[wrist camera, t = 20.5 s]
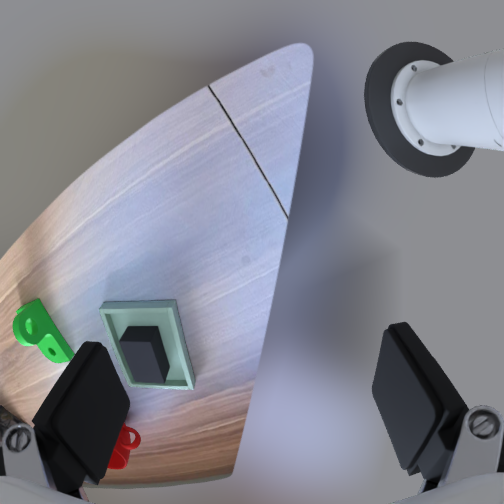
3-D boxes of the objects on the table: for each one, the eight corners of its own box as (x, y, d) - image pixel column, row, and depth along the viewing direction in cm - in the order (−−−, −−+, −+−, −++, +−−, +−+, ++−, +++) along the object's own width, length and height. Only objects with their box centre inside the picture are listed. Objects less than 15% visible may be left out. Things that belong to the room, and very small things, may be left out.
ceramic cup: (165, 432, 51) (156, 470, 42) (107, 436, 53) (95, 468, 44) (128, 391, 47) (112, 431, 38) (72, 399, 49) (54, 432, 40)
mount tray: (175, 299, 40) (172, 307, 38) (195, 380, 45) (193, 389, 43) (104, 301, 40) (98, 308, 38) (132, 378, 46) (128, 386, 44)
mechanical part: (21, 306, 41) (-3, 328, 34) (38, 298, 40) (12, 321, 33) (55, 358, 45) (36, 384, 37) (74, 354, 44) (55, 382, 37)
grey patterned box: (-1, 427, 60) (-18, 456, 45) (-3, 399, 53) (-27, 434, 38) (34, 453, 64) (19, 484, 48) (38, 431, 57) (17, 469, 41)
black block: (158, 325, 41) (150, 341, 37) (170, 366, 44) (164, 383, 40) (127, 325, 41) (118, 341, 37) (141, 365, 44) (134, 382, 40)
